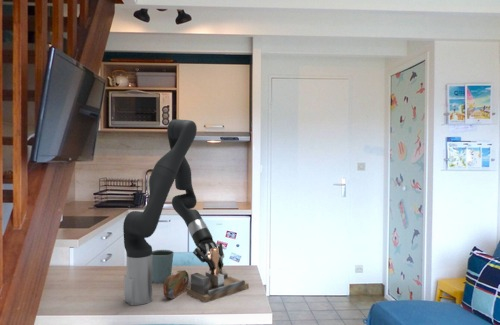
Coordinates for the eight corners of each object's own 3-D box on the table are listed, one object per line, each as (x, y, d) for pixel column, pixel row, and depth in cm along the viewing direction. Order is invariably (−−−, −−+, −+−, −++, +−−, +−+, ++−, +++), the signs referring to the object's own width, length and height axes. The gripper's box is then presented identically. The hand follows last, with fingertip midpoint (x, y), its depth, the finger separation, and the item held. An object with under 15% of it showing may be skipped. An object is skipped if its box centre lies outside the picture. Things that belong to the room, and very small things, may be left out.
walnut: (205, 291, 147) (205, 282, 147) (200, 289, 150) (200, 280, 150) (213, 289, 150) (213, 280, 149) (207, 287, 152) (207, 278, 152)
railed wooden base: (205, 302, 142) (205, 281, 141) (186, 293, 150) (186, 273, 150) (248, 288, 157) (248, 268, 157) (229, 280, 165) (229, 262, 165)
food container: (223, 278, 169) (223, 256, 168) (209, 278, 169) (209, 255, 169) (225, 269, 181) (225, 248, 181) (212, 269, 181) (212, 248, 181)
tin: (168, 301, 142) (168, 279, 142) (161, 300, 143) (161, 278, 143) (189, 288, 156) (189, 268, 156) (182, 287, 157) (182, 267, 157)
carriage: (217, 289, 148) (217, 251, 148) (205, 284, 154) (205, 247, 154) (224, 287, 150) (224, 249, 150) (211, 282, 156) (211, 246, 156)
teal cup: (145, 279, 167) (145, 252, 167) (166, 274, 174) (166, 248, 173) (156, 285, 159) (156, 256, 159) (177, 280, 166) (177, 252, 166)
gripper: (189, 229, 152) (207, 266, 144) (217, 225, 162) (236, 259, 153) (181, 240, 156) (199, 277, 148) (209, 235, 166) (227, 269, 157)
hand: (217, 268), depth 151 cm, fingers closed on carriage, 3 cm apart
